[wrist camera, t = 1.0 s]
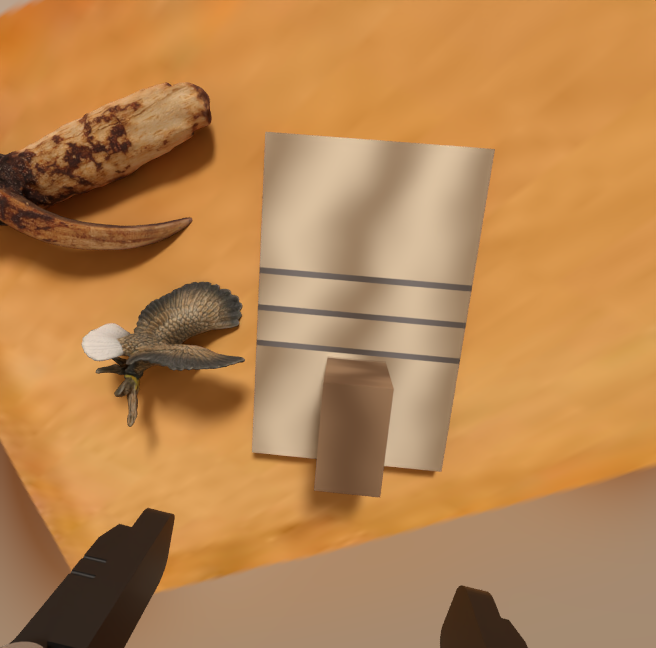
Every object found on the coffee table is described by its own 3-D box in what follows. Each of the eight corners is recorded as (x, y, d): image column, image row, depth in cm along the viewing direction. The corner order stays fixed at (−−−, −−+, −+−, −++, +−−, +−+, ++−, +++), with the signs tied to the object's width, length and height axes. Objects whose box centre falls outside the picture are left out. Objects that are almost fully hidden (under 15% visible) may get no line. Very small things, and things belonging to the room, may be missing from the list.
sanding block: (385, 361, 27) (393, 389, 22) (374, 452, 28) (380, 497, 23) (327, 355, 27) (323, 382, 22) (320, 446, 28) (314, 490, 23)
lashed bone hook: (37, 290, 29) (257, 205, 26) (-22, 304, 24) (237, 202, 22) (-31, 165, 27) (200, 58, 24) (-109, 154, 22) (165, 22, 20)
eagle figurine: (178, 425, 29) (270, 371, 26) (79, 430, 23) (185, 360, 19) (159, 335, 32) (239, 278, 28) (67, 318, 25) (157, 242, 22)
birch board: (487, 153, 25) (494, 149, 23) (437, 462, 29) (441, 471, 28) (269, 136, 25) (265, 131, 24) (255, 443, 30) (252, 452, 29)
